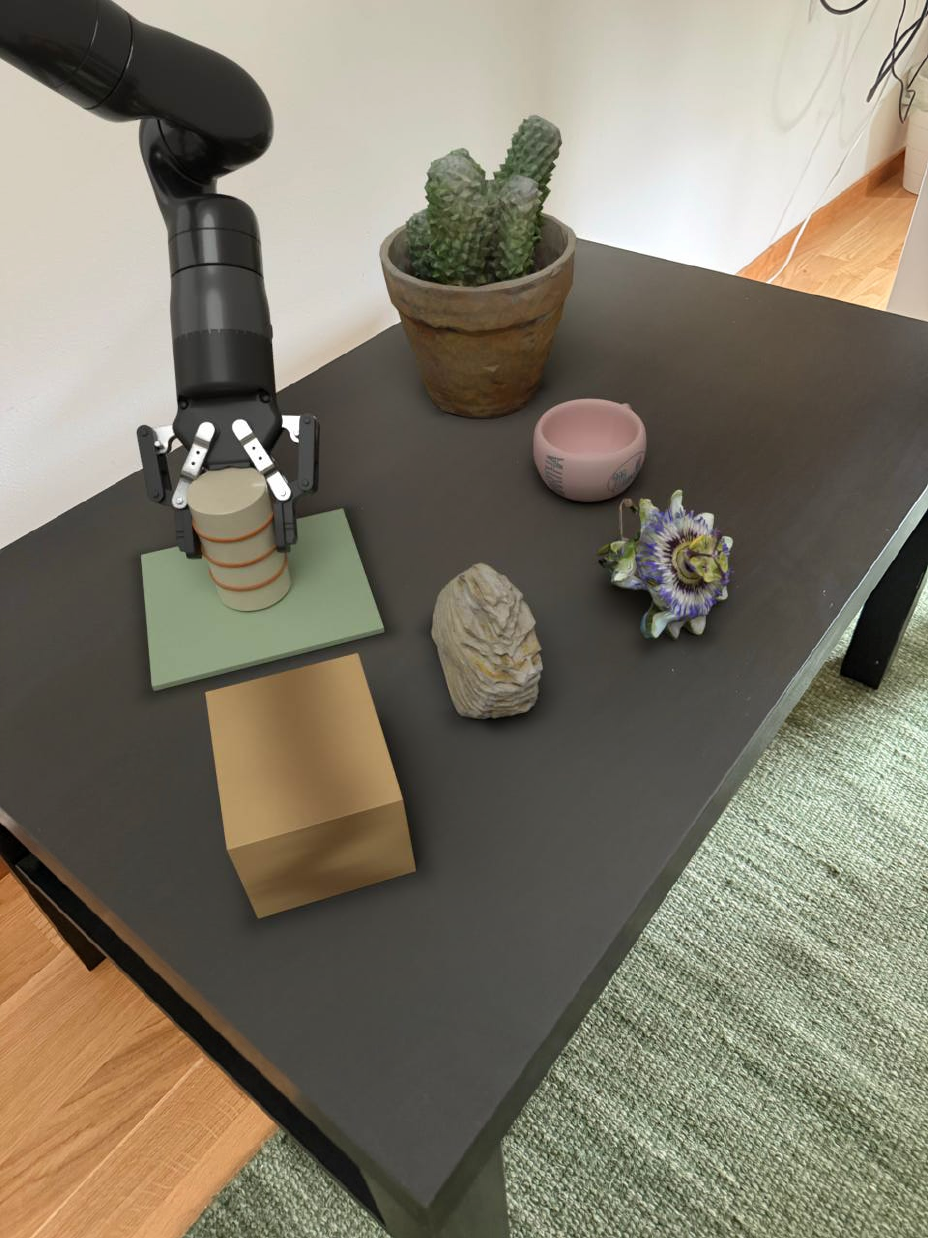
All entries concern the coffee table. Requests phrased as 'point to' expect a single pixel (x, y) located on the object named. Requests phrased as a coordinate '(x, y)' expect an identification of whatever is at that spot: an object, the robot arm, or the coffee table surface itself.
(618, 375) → the coffee table surface
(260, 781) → the stand
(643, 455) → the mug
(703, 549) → the passion flower
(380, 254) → the potted plant
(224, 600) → the banded jar
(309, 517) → the mat
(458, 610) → the fossil tooth
